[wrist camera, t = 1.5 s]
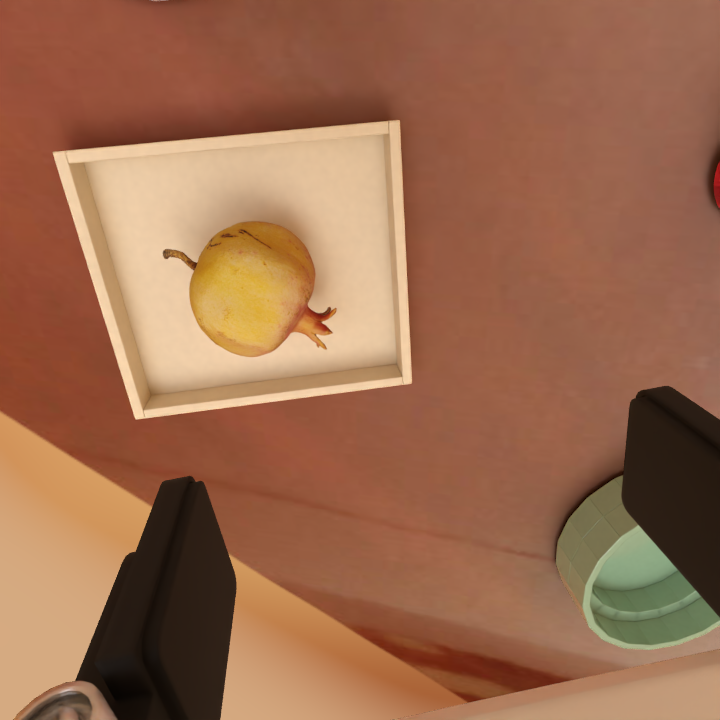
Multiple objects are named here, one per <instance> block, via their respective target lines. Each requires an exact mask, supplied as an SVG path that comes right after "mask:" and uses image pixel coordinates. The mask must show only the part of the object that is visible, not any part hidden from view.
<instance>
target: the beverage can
mask: <svg viewBox="0 0 720 720" xmlns="http://www.w3.org/2000/svg"><path fill="white" fill-rule="evenodd" d="M714 195H715V199H716V203H717V205H718V207H719V209H720V161H719V163H718V166H717V169H716V173H715V178H714Z"/></svg>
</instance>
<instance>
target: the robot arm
mask: <svg viewBox="0 0 720 720" xmlns="http://www.w3.org/2000/svg"><path fill="white" fill-rule="evenodd" d="M151 1H167V0H151ZM621 498H622V503H623V505H624V507H625V509H626V511H627V512H628V514H629V515H630V516H631V517H632V518H633V519H634V520H635V522H636V523H637V524H638V525H639V526H640V527H641V528H642V530H643V531H644V532H645V533H646V534H647V535H648V536H649V538H650V539H651V540H652V541H653V542H654V543H655V544H656V546H657V547H658V548H659V549H660V550H661V551H662V552H663V554H664V555H665V556H666V557H667V558H668V559H669V560H670V562H671V563H672V564H673V565H674V566H675V567H676V568H677V570H678V571H679V572H680V573H681V574H682V575H683V576H684V578H685V579H686V580H687V581H688V582H689V583H690V584H691V585H692V587H693V588H694V589H695V590H696V591H697V592H698V593H699V595H700V596H701V597H702V598H703V599H704V600H705V601H706V603H707V604H708V605H709V606H710V607H711V608H712V609H713V611H714V612H715V613H716V614H717V615H718V616H719V617H720V420H719V419H718V418H716V417H715V416H713V415H712V414H710V413H709V412H707V411H706V410H704V409H703V408H702V407H700V406H699V405H697V404H696V403H694V402H693V401H691V400H690V399H688V398H687V397H685V396H684V395H682V394H681V393H679V392H678V391H676V390H675V389H673V388H672V387H669V386H662V387H657V388H652V389H647V390H641V391H640V392H638V394H637V395H636V398H635V399H633V400H632V401H631V402H630V407H629V418H628V428H627V439H626V450H625V461H624V471H623V482H622V493H621ZM235 597H236V577H235V572H234V569H233V566H232V564H231V560H230V558H229V555H228V552H227V549H226V546H225V543H224V540H223V537H222V534H221V531H220V528H219V525H218V522H217V519H216V516H215V514H214V511H213V508H212V505H211V502H210V499H209V496H208V493H207V490H206V487H205V485H204V483H203V482H202V481H198V482H195V480H194V478H193V477H191V476H187V477H182V478H177V479H172V480H166V481H163V482H162V484H161V486H160V489H159V491H158V494H157V496H156V499H155V502H154V504H153V507H152V510H151V513H150V515H149V518H148V520H147V523H146V526H145V528H144V531H143V534H142V536H141V539H140V542H139V545H138V547H137V550H136V552H132V553H129V554H128V555H127V556H126V557H125V559H124V561H123V562H122V565H121V567H120V570H119V572H118V575H117V577H116V580H115V582H114V585H113V587H112V590H111V592H110V595H109V597H108V600H107V602H106V605H105V607H104V610H103V612H102V615H101V618H100V620H99V623H98V625H97V628H96V630H95V633H94V635H93V638H92V640H91V643H90V645H89V648H88V650H87V653H86V655H85V658H84V660H83V663H82V665H81V668H80V670H79V673H78V675H77V678H76V680H75V681H73V682H66V683H64V684H61V685H58V686H56V687H53V688H51V689H49V690H48V691H46V692H44V693H43V694H41V695H40V696H38V697H36V698H35V699H34V700H33V701H31V702H30V703H29V704H28V705H27V706H26V707H25V708H24V709H23V710H21V711H20V712H19V713H18V714H17V716H16V717H15V718H14V719H13V720H220V717H221V709H222V700H223V693H224V685H225V677H226V669H227V661H228V653H229V645H230V636H231V629H232V620H233V612H234V605H235ZM394 720H720V649H717V650H713V651H708V652H703V653H698V654H694V655H689V656H684V657H679V658H675V659H670V660H665V661H660V662H656V663H651V664H646V665H641V666H637V667H632V668H627V669H623V670H618V671H613V672H609V673H604V674H599V675H595V676H590V677H585V678H581V679H576V680H572V681H567V682H562V683H558V684H553V685H548V686H544V687H539V688H535V689H530V690H525V691H521V692H516V693H512V694H507V695H502V696H498V697H493V698H489V699H484V700H479V701H475V702H470V703H466V704H462V705H457V706H452V707H448V708H443V709H439V710H434V711H430V712H425V713H421V714H416V715H412V716H407V717H403V718H398V719H394Z"/></svg>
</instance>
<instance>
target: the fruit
mask: <svg viewBox="0 0 720 720" xmlns="http://www.w3.org/2000/svg"><path fill="white" fill-rule="evenodd" d="M163 257H164V259H168V258H169V257H174V258H179V259H181V260H182V261H183V262H184V263H185V264H186V265H187V266H189V267H190V268H191V269H192V270H194V272H193V274H192V277H191V281H190V286H189V297H190V304H191V308H192V311H193V314H194V316H195V319H196V321H197V323H198V325H199V327H200V329H201V330H202V331H203V332H204V333H205V334H206V335H207V336H208V337H209V338H210V339H211V340H212V341H213V342H214V343H215V344H216V345H218V346H220V347H222V348H223V349H225V350H227V351H229V352H231V353H234V354H236V355H239V356H245V357H258V356H261V355H265V354H268V353H270V352H272V351H274V350H276V349H277V348H278V347H279V346H280V345H281V344H282V343H283V342H284V341H285V340H286V339H287V338H288V336H289V335H290V333H293V332H299V333H302V334H305V335H306V336H308V337H309V338H310V339H311V340H312V341H314V342H315V343H316V345H317V347H318V348H319V346H321V347H322V348H323V349H325V350H327V348H326V346H325V344H324V343H323V342H322V341H321V340H320V339H319V338H318V337H317V336H316V334H319V335H323V336H325V335H330V334H332V333H333V332H332V331H331V330H330V329H329V328H328V327H327V326H326V325H325V324H323V323H322V322H323V321H326V320H328V319H329V318H331V317H332V316H333V315H334V314H335V313H336V309H337V308H334V309H333V310H332V311H331V307H328V308H327V310H326V311H325V312H323V313H316V312H314V311H313V310H311V309H310V308H309V307H308V302H309V300H310V298H311V296H312V293H313V290H314V284H315V276H316V273H315V268H314V264H313V261H312V258H311V256H310V254H309V252H308V249H307V248H306V246H305V245H304V244H303V242H302V241H301V240H300V239H299V238H298V237H297V236H296V235H295V234H293V233H292V232H291V231H289V230H288V229H286V228H284V227H282V226H280V225H276V224H273V223H268V222H260V221H247V222H240V223H237V224H235V225H232V226H230V227H228V228H226V229H224V230H222V231H220V232H218V233H217V234H216V235H214V236H213V237H212V238H211V240H210V241H209V242H208V244H207V245H206V246H205V248H204V249H203V251H202V252H201V254H200V256H199V259H198V262H197V263H196V262H194V261H192V260H191V259H190V258H189V257H188V256H187V255H186V254H184V253H183V252H181V251H177V250H172V249H165V250H164V251H163Z"/></svg>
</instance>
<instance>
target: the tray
mask: <svg viewBox="0 0 720 720" xmlns="http://www.w3.org/2000/svg"><path fill="white" fill-rule="evenodd" d="M53 156H54V159H55V162H56V165H57V169H58V172H59V175H60V178H61V181H62V185H63V188H64V191H65V194H66V198H67V201H68V204H69V207H70V210H71V214H72V217H73V220H74V223H75V226H76V230H77V233H78V236H79V239H80V243H81V246H82V249H83V252H84V255H85V259H86V262H87V265H88V268H89V272H90V275H91V278H92V281H93V284H94V288H95V291H96V294H97V297H98V300H99V304H100V307H101V310H102V313H103V317H104V320H105V323H106V326H107V329H108V333H109V336H110V339H111V342H112V345H113V349H114V352H115V355H116V358H117V362H118V365H119V368H120V371H121V374H122V378H123V381H124V384H125V387H126V390H127V394H128V397H129V400H130V403H131V407H132V410H133V413H134V416H135V419H144V418H151V417H159V416H166V415H174V414H182V413H189V412H197V411H205V410H212V409H220V408H228V407H235V406H243V405H251V404H258V403H266V402H274V401H282V400H289V399H297V398H305V397H312V396H320V395H328V394H335V393H343V392H351V391H358V390H366V389H374V388H381V387H389V386H397V385H402V384H404V385H405V384H411V383H412V370H411V349H410V327H409V306H408V285H407V263H406V242H405V220H404V199H403V178H402V156H401V135H400V120H392V121H381V122H371V123H360V124H349V125H338V126H327V127H316V128H305V129H295V130H284V131H273V132H262V133H251V134H240V135H229V136H219V137H208V138H197V139H186V140H175V141H164V142H154V143H143V144H132V145H121V146H110V147H99V148H88V149H78V150H67V151H56V152H53ZM247 221H260V222H268V223H273V224H276V225H280V226H282V227H284V228H286V229H288V230H289V231H291V232H292V233H293V234H295V235H296V236H297V237H298V238H299V239H300V240H301V241H302V242H303V244H304V245H305V246H306V248H307V249H308V252H309V254H310V256H311V258H312V261H313V264H314V268H315V273H316V276H315V284H314V290H313V293H312V296H311V298H310V300H309V302H308V307H309V308H310V309H311V310H313V311H314V312H316V313H323V312H325V311H326V310H327V308H328V307H331V311H332V310H333V309H334V308H337V309H336V313H335V314H334V315H333V316H332V317H331V318H329V319H328V320H326V321H323V322H322V323H323V324H325V325H326V326H327V327H328V328H329V329H330V330H331V331H332V332H333V333H332V334H330V335H325V336H323V335H319V334H316V336H317V337H318V338H319V339H320V340H321V341H322V342H323V343H324V344H325V346H326V348H327V350H325V349H323V348H322V347H321V346H319V348H318V347H317V345H316V343H315V342H314V341H312V340H311V339H310V338H309V337H308V336H306V335H305V334H302V333H299V332H293V333H290V335H289V336H288V338H287V339H286V340H285V341H284V342H283V343H282V344H281V345H280V346H279V347H278V348H277V349H276V350H274V351H272V352H270V353H268V354H265V355H261V356H258V357H245V356H239V355H236V354H234V353H231V352H229V351H227V350H225V349H223V348H222V347H220V346H218V345H216V344H215V343H214V342H213V341H212V340H211V339H210V338H209V337H208V336H207V335H206V334H205V333H204V332H203V331H202V330H201V329H200V327H199V325H198V323H197V321H196V319H195V316H194V314H193V311H192V308H191V304H190V297H189V286H190V281H191V277H192V274H193V272H194V270H192V269H191V268H190V267H189V266H187V265H186V264H185V263H184V262H183V261H182V260H181V259H179V258H174V257H169V258H168V259H164V257H163V251H164V250H165V249H172V250H177V251H181V252H183V253H184V254H186V255H187V256H188V257H189V258H190V259H191V260H192V261H194V262H196V263H197V262H198V259H199V256H200V254H201V252H202V251H203V249H204V248H205V246H206V245H207V244H208V242H209V241H210V240H211V238H212V237H213V236H214V235H216V234H217V233H218V232H220V231H222V230H224V229H226V228H228V227H230V226H232V225H235V224H237V223H240V222H247Z"/></svg>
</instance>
